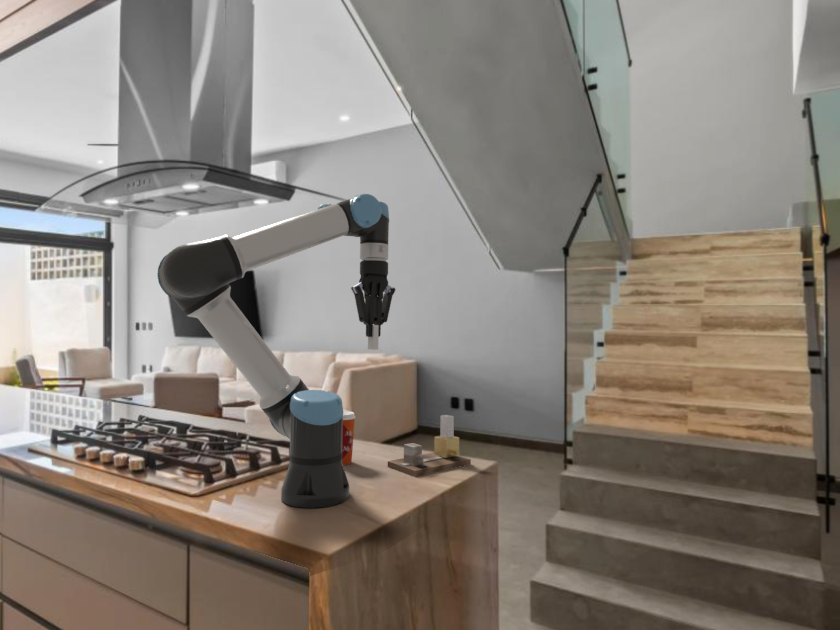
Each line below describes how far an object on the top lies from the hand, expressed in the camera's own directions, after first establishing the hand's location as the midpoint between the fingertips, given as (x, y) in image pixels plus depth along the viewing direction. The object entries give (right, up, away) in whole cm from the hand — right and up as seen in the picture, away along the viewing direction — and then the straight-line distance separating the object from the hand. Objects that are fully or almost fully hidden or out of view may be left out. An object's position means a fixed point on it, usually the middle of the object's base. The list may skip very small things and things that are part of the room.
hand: (373, 349), depth 146 cm
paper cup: (-10, -33, +8) cm, 35 cm away
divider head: (+21, -31, +9) cm, 38 cm away
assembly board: (+15, -33, +6) cm, 36 cm away
